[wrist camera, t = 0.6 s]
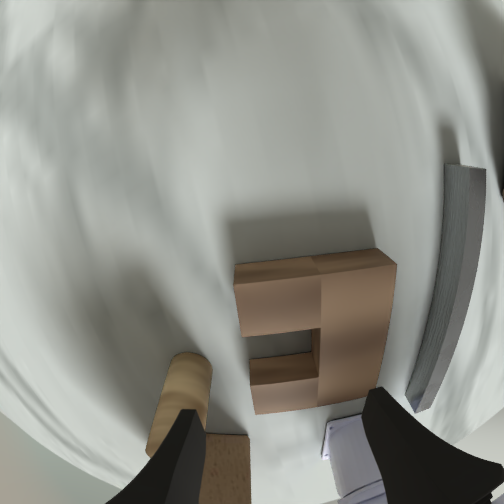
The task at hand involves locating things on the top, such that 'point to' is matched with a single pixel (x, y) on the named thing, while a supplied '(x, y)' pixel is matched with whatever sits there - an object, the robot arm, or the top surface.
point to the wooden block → (226, 470)
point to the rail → (450, 280)
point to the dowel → (181, 395)
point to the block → (317, 325)
